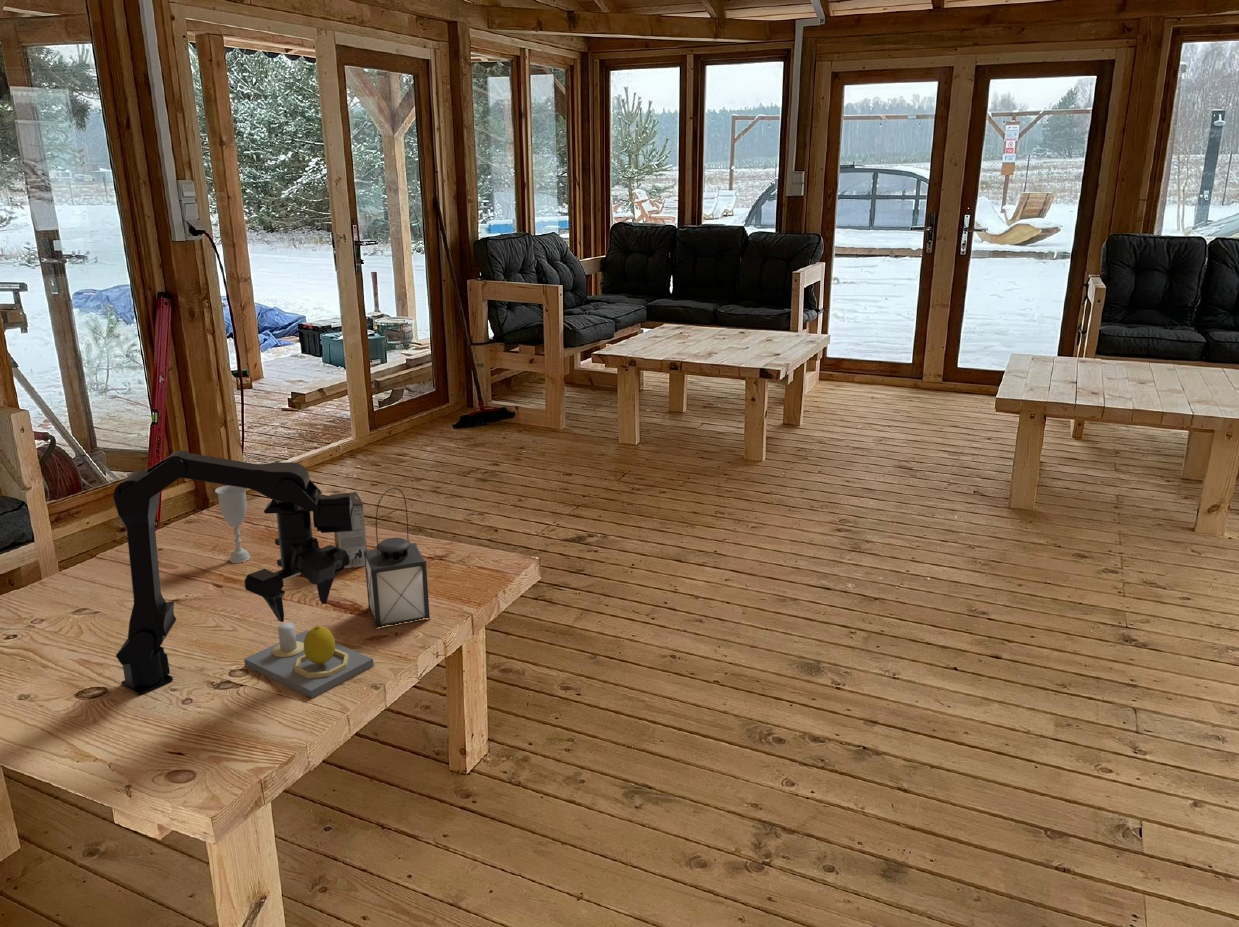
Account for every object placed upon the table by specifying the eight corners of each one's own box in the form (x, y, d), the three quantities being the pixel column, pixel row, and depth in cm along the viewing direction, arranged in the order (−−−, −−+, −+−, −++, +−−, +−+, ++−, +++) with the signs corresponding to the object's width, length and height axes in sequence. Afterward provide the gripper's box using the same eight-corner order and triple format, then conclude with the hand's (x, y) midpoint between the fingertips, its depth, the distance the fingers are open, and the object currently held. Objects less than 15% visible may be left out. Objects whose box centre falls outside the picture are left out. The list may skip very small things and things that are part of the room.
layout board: (311, 698, 163) (308, 665, 161) (245, 665, 174) (240, 634, 172) (373, 665, 174) (370, 635, 172) (307, 637, 185) (303, 607, 183)
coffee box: (335, 556, 225) (329, 494, 220) (362, 552, 228) (356, 490, 223) (341, 570, 217) (335, 505, 213) (368, 565, 220) (363, 502, 215)
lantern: (420, 599, 202) (411, 478, 194) (430, 620, 192) (421, 493, 184) (368, 607, 198) (357, 484, 190) (376, 629, 188) (364, 500, 180)
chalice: (218, 562, 221) (208, 492, 216) (237, 552, 228) (228, 483, 222) (243, 566, 219) (234, 495, 214) (262, 555, 225) (253, 486, 220)
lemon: (327, 673, 168) (323, 634, 166) (300, 670, 169) (295, 631, 167) (342, 659, 173) (338, 621, 171) (315, 656, 175) (311, 618, 172)
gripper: (277, 560, 153) (286, 644, 158) (366, 528, 168) (371, 606, 173) (238, 545, 160) (247, 626, 164) (327, 515, 174) (333, 591, 179)
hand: (302, 612), depth 170 cm, fingers open, 9 cm apart
